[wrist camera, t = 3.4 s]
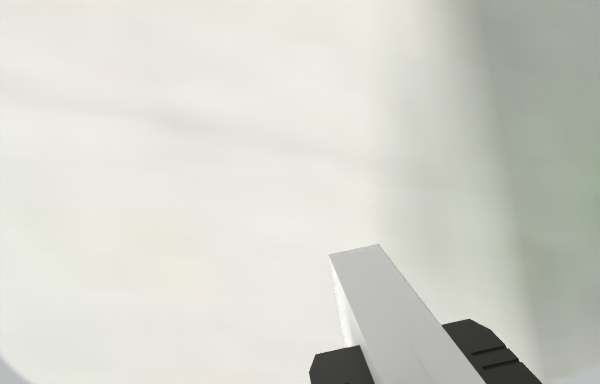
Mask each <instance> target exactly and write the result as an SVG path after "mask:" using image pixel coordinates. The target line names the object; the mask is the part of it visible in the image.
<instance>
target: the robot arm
mask: <svg viewBox="0 0 600 384" xmlns="http://www.w3.org/2000/svg"><path fill="white" fill-rule="evenodd" d="M329 260H330V266H331V271H332V277H333V283H334V288H335V294H336V300H337V305H338V311H339V317H340V322H341V328H342V334H343V338H344V341H345V344H346V346H347V348H343V349H338V350H334V351H329V352H325V353H320V354H316V355H315V357H314V360H313V363H312V366H311V368H310V371H309V374H310V380H311V384H542V383H541V382H540V381H539V380H538V379H537V378H536V376H535V375H534V374H533V373H532V372H531V371H530V370H529V369H528V368H527V367H526V366H525V365H524V364H523V363H522V362H519V360H518V358H517V357H516V356H515V355H514V354H513V353H512V351H511V350H510V349H509V348H508V349H507V348H506V345H505V344H504V343H503V342H502V341H501V340H500V339H499V338H498V337H497V336H496V335H495V334H494V333H493V332H492V331H491V330H490V329H488V328H486V327H484V326H482V325H480V324H478V323H477V322H475V321H473V320H471V319H466V320H462V321H457V322H453V323H448V324H444V325H441V324H440V323H439V322H438V321H437V319H436V318H435V317H434V315H433V314H432V313H431V311H430V310H429V309H428V308H427V306H426V305H425V304H424V302H423V301H422V300H421V298H420V297H419V296H418V295H417V293H416V292H415V291H414V289H413V288H412V287H411V285H410V284H409V283H408V282H407V280H406V279H405V278H404V276H403V275H402V274H401V272H400V271H399V270H398V269H397V267H396V266H395V265H394V263H393V262H392V261H391V259H390V258H389V257H388V256H387V254H386V253H385V252H384V250H383V249H382V248H381V246H380V245H379V244H378V245H373V246H368V247H363V248H358V249H354V250H349V251H344V252H339V253H335V254H330V255H329Z"/></svg>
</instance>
